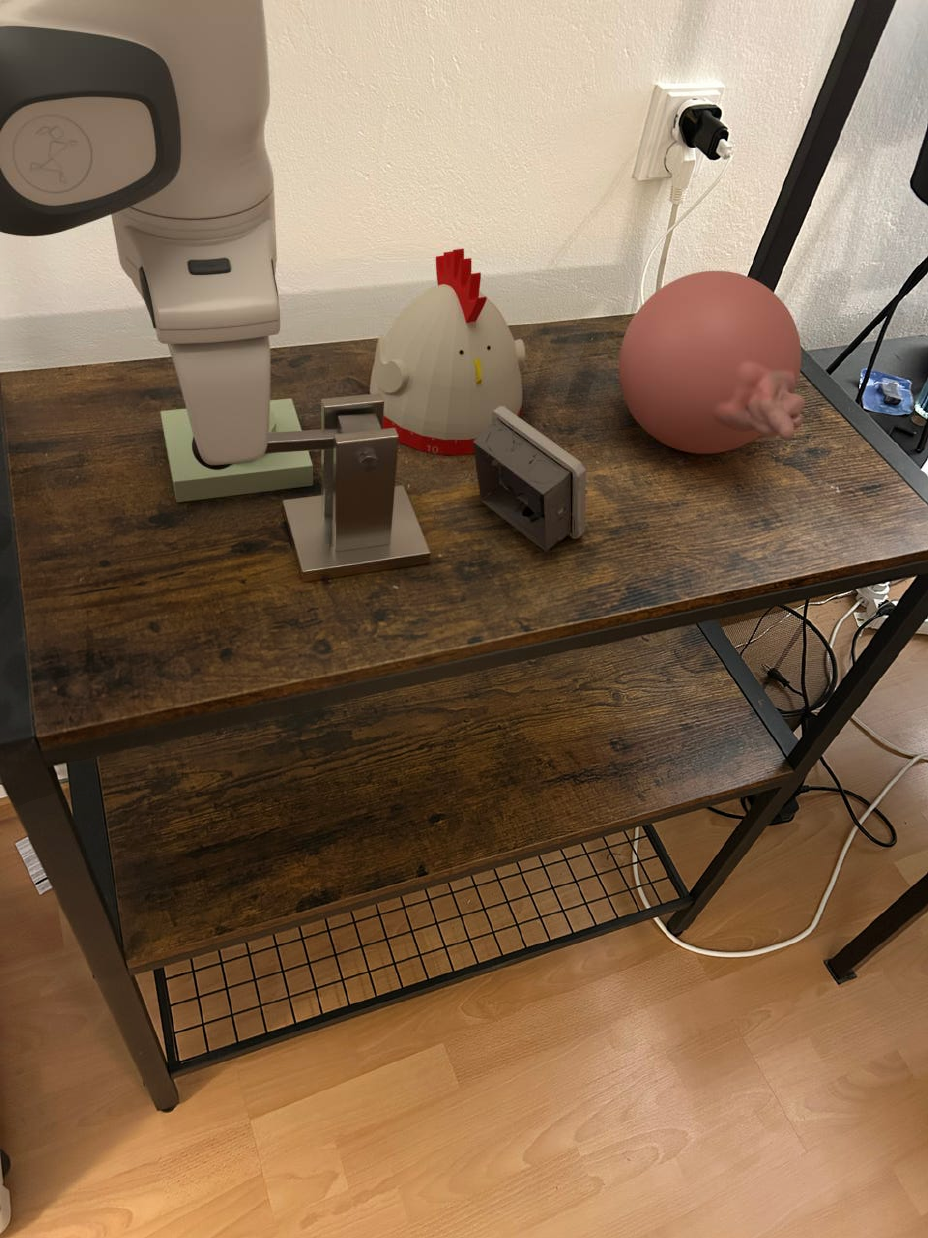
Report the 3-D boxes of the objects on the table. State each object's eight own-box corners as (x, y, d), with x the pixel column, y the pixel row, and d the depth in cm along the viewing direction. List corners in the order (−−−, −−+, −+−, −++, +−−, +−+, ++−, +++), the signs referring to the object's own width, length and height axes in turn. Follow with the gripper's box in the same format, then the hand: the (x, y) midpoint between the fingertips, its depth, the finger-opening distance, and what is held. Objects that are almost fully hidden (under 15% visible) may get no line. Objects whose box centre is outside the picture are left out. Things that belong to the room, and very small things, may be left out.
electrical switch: (585, 538, 80) (601, 455, 72) (541, 570, 77) (554, 487, 70) (504, 477, 84) (513, 392, 76) (461, 506, 81) (465, 421, 74)
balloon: (663, 536, 81) (721, 383, 69) (577, 391, 93) (614, 240, 81) (820, 513, 85) (899, 365, 74) (718, 377, 97) (772, 232, 85)
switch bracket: (302, 582, 73) (300, 462, 64) (282, 510, 78) (277, 389, 69) (429, 563, 76) (443, 445, 67) (402, 495, 81) (412, 376, 72)
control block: (176, 502, 77) (170, 464, 74) (163, 431, 83) (157, 392, 80) (313, 485, 80) (312, 448, 77) (292, 418, 86) (290, 380, 83)
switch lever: (196, 481, 66) (194, 444, 63) (189, 451, 68) (187, 413, 65) (381, 467, 70) (385, 432, 68) (370, 439, 72) (374, 404, 70)
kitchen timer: (402, 467, 83) (414, 312, 72) (347, 374, 91) (351, 220, 79) (544, 438, 88) (577, 288, 76) (481, 352, 95) (503, 204, 84)
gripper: (121, 148, 60) (152, 341, 70) (158, 336, 48) (189, 537, 58) (224, 145, 62) (239, 334, 72) (286, 326, 49) (293, 522, 60)
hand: (217, 426), depth 65 cm, fingers closed, pressing on switch lever
